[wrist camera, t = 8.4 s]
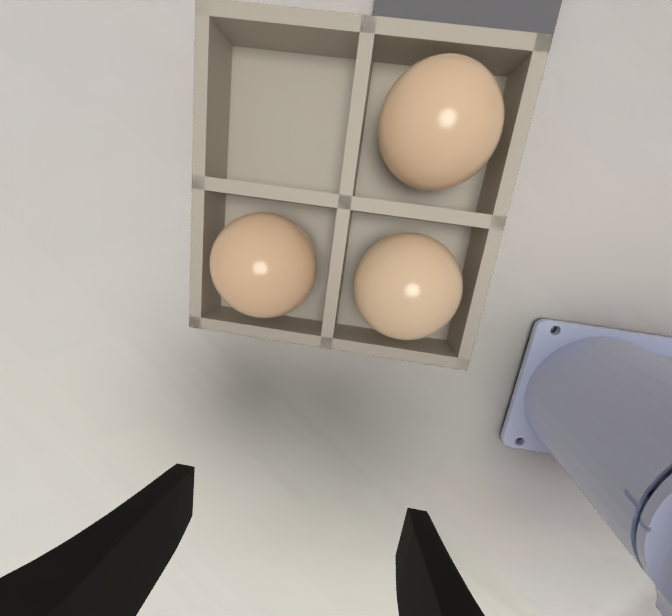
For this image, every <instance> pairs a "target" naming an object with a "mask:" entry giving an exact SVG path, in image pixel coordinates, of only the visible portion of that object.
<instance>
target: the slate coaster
mask: <svg viewBox="0 0 672 616" xmlns="http://www.w3.org/2000/svg"><path fill="white" fill-rule="evenodd" d="M561 3H562V0H375V6H374V13H373V16H382V17H392V18H401V19H410V20H420V21H429V22H439V23H448V24H458V25H467V26H477V27H486V28H495V29H505V30H514V31H524V32H533V33H543V34H552V35H553V34H554V30H555V26H556V22H557V18H558V14H559V10H560V6H561Z"/></svg>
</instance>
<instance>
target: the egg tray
mask: <svg viewBox="0 0 672 616" xmlns="http://www.w3.org/2000/svg"><path fill="white" fill-rule="evenodd" d="M552 38H553V35H552V34H543V33H533V32H524V31H514V30H505V29H495V28H486V27H477V26H467V25H458V24H448V23H439V22H429V21H420V20H410V19H401V18H392V17H382V16H373V15H363V14H354V13H344V12H335V11H325V10H316V9H307V8H297V7H288V6H278V5H269V4H259V3H250V2H241V1H231V0H195V48H194V101H193V154H192V208H191V261H190V314H189V327H193V328H199V329H206V330H212V331H218V332H225V333H231V334H237V335H244V336H250V337H256V338H263V339H269V340H275V341H282V342H288V343H294V344H301V345H307V346H313V347H320V348H326V349H332V350H339V351H345V352H351V353H358V354H364V355H371V356H377V357H383V358H390V359H396V360H402V361H409V362H415V363H421V364H428V365H434V366H440V367H447V368H453V369H459V370H466V371H467V370H468V366H469V362H470V358H471V354H472V350H473V347H474V343H475V339H476V335H477V331H478V327H479V323H480V319H481V315H482V311H483V307H484V304H485V300H486V296H487V292H488V288H489V284H490V280H491V276H492V272H493V268H494V264H495V261H496V257H497V253H498V249H499V245H500V241H501V237H502V233H503V229H504V225H505V221H506V218H507V214H508V210H509V206H510V202H511V198H512V194H513V190H514V186H515V182H516V178H517V175H518V171H519V167H520V163H521V159H522V155H523V151H524V147H525V143H526V139H527V136H528V132H529V128H530V124H531V120H532V116H533V112H534V108H535V104H536V100H537V96H538V93H539V89H540V85H541V81H542V77H543V73H544V69H545V65H546V61H547V57H548V53H549V50H550V46H551V42H552ZM444 53H457V54H462V55H466V56H468V57H471V58H473V59H475V60H477V61H479V62H480V63H481V64H483V65H484V66H485V67H486V68H487V69H488V70H489V71H490V72H491V73H492V75H493V76H494V78H495V79H496V81H497V83H498V85H499V87H500V90H501V92H502V96H503V101H504V110H505V114H504V124H503V130H502V134H501V137H500V140H499V142H498V145H497V147H496V149H495V151H494V153H493V154H492V156H491V157H490V159H489V160H488V161H487V163H486V164H485V165H484V167H483V168H482V169H481V170H480V171H479V172H478V173H476V174H475V175H474V176H473V177H471V178H470V179H468V180H467V181H465V182H464V183H462V184H460V185H458V186H456V187H453V188H450V189H446V190H441V191H424V190H419V189H415V188H413V187H410V186H408V185H406V184H404V183H403V182H401V181H400V180H399V179H398V178H396V177H395V176H394V175H393V174H392V172H391V171H390V170H389V169H388V167H387V165H386V164H385V162H384V160H383V157H382V155H381V152H380V148H379V143H378V119H379V114H380V110H381V107H382V104H383V102H384V100H385V97H386V95H387V93H388V92H389V90H390V88H391V87H392V85H393V84H394V83H395V81H396V80H397V79H398V78H399V77H400V76H401V75H402V74H403V73H404V72H405V71H406V70H407V69H408V68H410V67H411V66H412V65H414V64H415V63H417V62H419V61H421V60H423V59H425V58H428V57H430V56H434V55H437V54H444ZM256 212H269V213H274V214H278V215H280V216H283V217H286V218H288V219H289V220H291V221H293V222H294V223H296V224H297V225H298V226H299V227H300V228H301V229H302V230H303V231H304V232H305V233H306V235H307V236H308V238H309V239H310V241H311V243H312V245H313V248H314V251H315V254H316V259H317V274H316V279H315V282H314V285H313V287H312V290H311V292H310V293H309V295H308V296H307V298H306V299H305V300H304V301H303V302H302V303H301V304H300V305H299V306H298V307H297V308H295V309H294V310H292V311H291V312H289V313H286V314H284V315H281V316H278V317H273V318H257V317H252V316H248V315H245V314H243V313H240V312H238V311H237V310H235V309H234V308H232V307H231V306H230V305H228V304H227V303H226V302H225V301H224V300H223V298H222V297H221V296H220V295H219V293H218V292H217V290H216V288H215V286H214V284H213V281H212V278H211V273H210V254H211V249H212V247H213V244H214V242H215V240H216V238H217V236H218V235H219V233H220V232H221V231H222V230H223V229H224V228H225V227H226V226H227V225H228V224H229V223H230V222H232V221H233V220H235V219H237V218H239V217H241V216H243V215H246V214H250V213H256ZM407 232H411V233H420V234H424V235H427V236H430V237H432V238H434V239H436V240H438V241H439V242H440V243H442V244H443V245H444V246H445V247H447V248H448V249H449V250H450V252H451V253H452V254H453V255H454V257H455V259H456V260H457V262H458V265H459V267H460V270H461V274H462V279H463V292H462V298H461V301H460V304H459V307H458V309H457V311H456V313H455V314H454V316H453V317H452V319H451V320H450V321H449V322H448V323H447V324H446V325H445V326H444V327H443V328H442V329H440V330H439V331H437V332H436V333H434V334H432V335H430V336H427V337H424V338H421V339H416V340H399V339H394V338H390V337H388V336H385V335H383V334H381V333H379V332H378V331H376V330H375V329H373V328H372V327H371V326H370V325H369V324H368V323H367V322H366V321H365V320H364V318H363V317H362V315H361V314H360V312H359V310H358V308H357V306H356V303H355V299H354V293H353V281H354V275H355V271H356V268H357V266H358V264H359V262H360V260H361V258H362V257H363V255H364V254H365V253H366V252H367V251H368V250H369V248H371V247H372V246H373V245H374V244H375V243H377V242H378V241H380V240H382V239H384V238H386V237H388V236H391V235H394V234H398V233H407Z"/></svg>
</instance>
